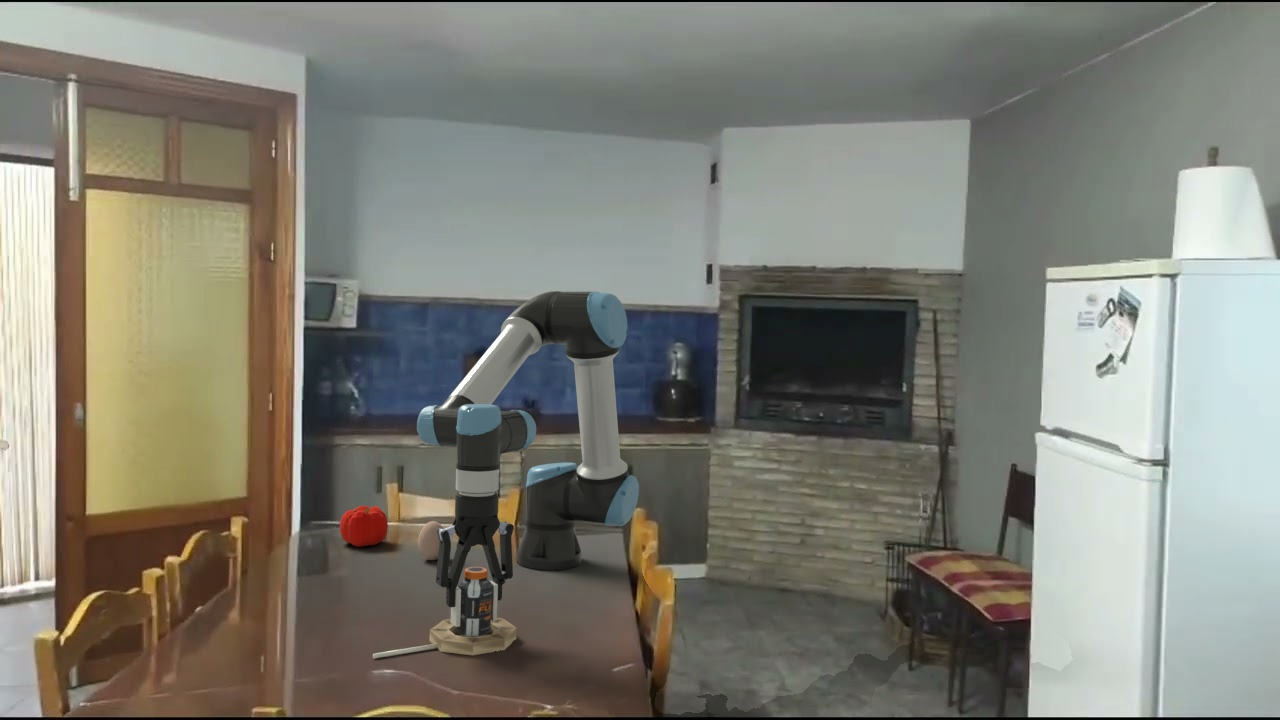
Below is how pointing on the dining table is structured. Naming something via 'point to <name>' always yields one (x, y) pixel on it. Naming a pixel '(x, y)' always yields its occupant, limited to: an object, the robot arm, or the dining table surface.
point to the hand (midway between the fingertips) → (473, 621)
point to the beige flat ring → (473, 638)
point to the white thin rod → (405, 651)
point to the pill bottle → (475, 603)
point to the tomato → (364, 526)
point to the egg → (429, 540)
